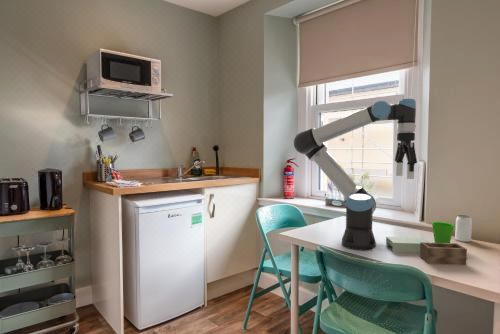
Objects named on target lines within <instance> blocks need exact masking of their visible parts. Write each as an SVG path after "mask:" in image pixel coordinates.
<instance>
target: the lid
mask: <svg viewBox="0 0 500 334" xmlns="http://www.w3.org/2000/svg"><path fill="white" fill-rule="evenodd" d="M420 242H428V243H431V242H430V241H429V240H427V239H426V238H424V237H415V236H413V237H412V236H410V237H408V236H386V240H385V246H386V247H392V250H391V252H392V253H406V254H407V253H410V254H420Z"/></svg>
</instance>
